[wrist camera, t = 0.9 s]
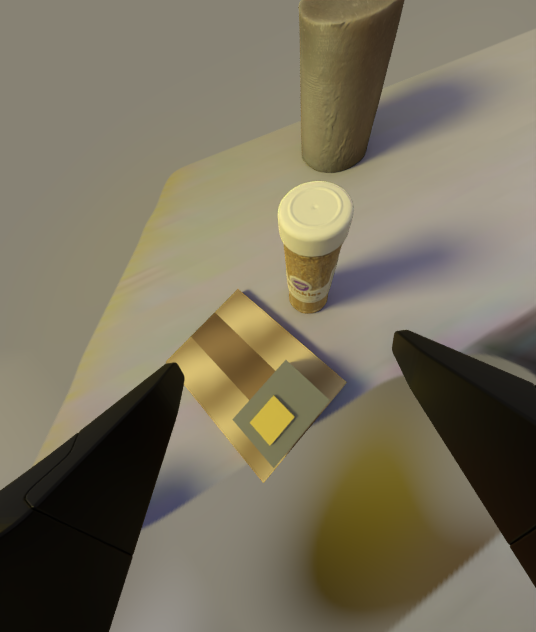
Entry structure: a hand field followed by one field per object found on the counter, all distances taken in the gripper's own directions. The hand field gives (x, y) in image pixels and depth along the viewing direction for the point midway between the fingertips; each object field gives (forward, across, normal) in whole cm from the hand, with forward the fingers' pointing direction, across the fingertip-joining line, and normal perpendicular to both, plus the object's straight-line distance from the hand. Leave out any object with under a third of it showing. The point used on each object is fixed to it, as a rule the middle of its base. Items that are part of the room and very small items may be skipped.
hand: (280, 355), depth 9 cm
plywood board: (+10, +5, +11) cm, 15 cm away
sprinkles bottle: (+16, -3, +6) cm, 18 cm away
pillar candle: (+34, -11, -9) cm, 37 cm away
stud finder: (+7, +2, +13) cm, 15 cm away
